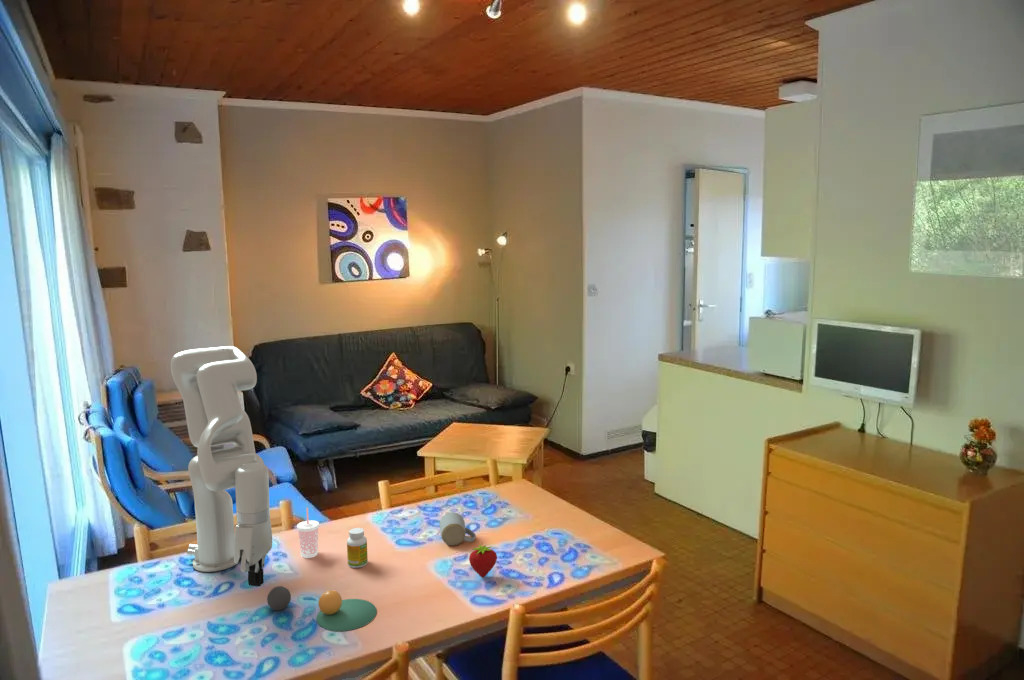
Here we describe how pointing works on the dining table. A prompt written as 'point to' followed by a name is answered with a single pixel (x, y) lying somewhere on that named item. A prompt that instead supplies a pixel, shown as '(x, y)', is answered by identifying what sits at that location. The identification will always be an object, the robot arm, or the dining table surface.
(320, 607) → the orange ball
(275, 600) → the charcoal cue ball
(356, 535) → the supplement bottle
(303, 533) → the beverage cup
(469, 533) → the ceramic mug
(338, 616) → the green ellipsoid
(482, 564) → the strawberry
